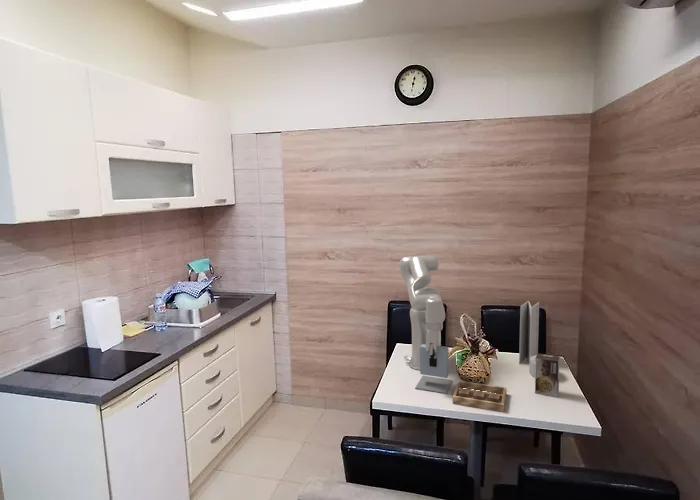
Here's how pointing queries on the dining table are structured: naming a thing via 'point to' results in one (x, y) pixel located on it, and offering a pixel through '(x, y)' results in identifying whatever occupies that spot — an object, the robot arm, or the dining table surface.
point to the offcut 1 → (464, 393)
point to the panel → (441, 362)
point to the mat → (434, 384)
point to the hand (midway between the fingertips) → (434, 364)
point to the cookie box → (547, 375)
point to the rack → (480, 403)
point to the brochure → (528, 331)
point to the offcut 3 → (494, 398)
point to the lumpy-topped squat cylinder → (532, 366)
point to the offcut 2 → (479, 395)
